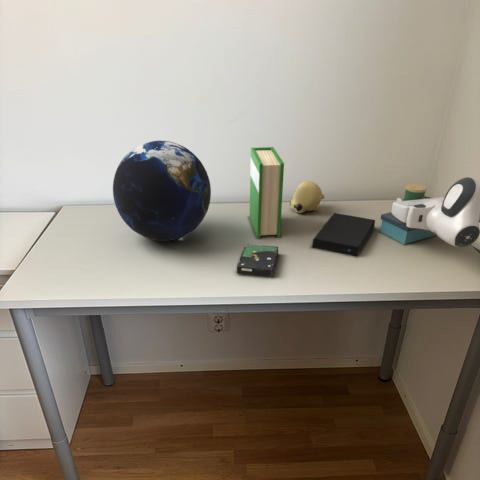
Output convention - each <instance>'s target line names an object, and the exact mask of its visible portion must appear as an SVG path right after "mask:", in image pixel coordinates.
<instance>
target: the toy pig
mask: <svg viewBox="0 0 480 480" xmlns="http://www.w3.org/2000/svg"><path fill="white" fill-rule="evenodd" d="M325 197H326V196H325V194H323V192H322V188H321V187H320V186H319V184H317V183H316V182H314V181H311V180H304V181H302V182H301V183H299V185H298V186H297V187H296V190H295V191H294V193H293V197H292V199H291V200H290V202H289V206H290V208H291V209H292V210H293V211H294V212H295V213H298V214H303V213H305V212H311V211H315V212H317V211H319V205H320V203H321V202H322V200H324V199H325Z"/></svg>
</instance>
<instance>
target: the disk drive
mask: <svg viewBox="0 0 480 480" xmlns="http://www.w3.org/2000/svg"><path fill="white" fill-rule="evenodd" d="M278 256H279V246H275V245H262V244H261V245H256V244H255V245H253V244H246V245H244V247H243V249H242V253H241V254H240V257H239V260H238V261H237V264H236V274H239V275H247V276H258V277H273V274H274V270H275V267H276V264H277V259H278Z"/></svg>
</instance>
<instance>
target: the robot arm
mask: <svg viewBox="0 0 480 480" xmlns="http://www.w3.org/2000/svg"><path fill="white" fill-rule="evenodd" d="M390 212H392V214H393V215H394V216H395V217H396V218H397V219H399V220H400V221H402V222H404V223H406V226H407V227H409V228H418V229H425V230H430V231H432V232H433V233H434V234H436V235H437V237H438V238H440V239H441V240H442V241H443V242H445V243H447V244H449V245H451V246H453V247H457V248H466V247H468V246H470V245H472V244H473V243H475V242H476V241H477V240H478V239H479V237H480V225H479V223H480V180H477V179H475V178H472V177H468V176H467V177H463V178H460V179H458V180H456V181H455V182H454V183H453V184H452V185H451V186H450V187H449V189H448V190H447V191H446V194H445V195H444V196H441V197H440V196H439V197H436V196H431V195H429V194H425V196H424V199H418V200H407V201H404V197H397V198H396V201H394V202H393V203H392V205H391V210H390Z"/></svg>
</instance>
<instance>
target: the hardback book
mask: <svg viewBox="0 0 480 480" xmlns="http://www.w3.org/2000/svg"><path fill="white" fill-rule="evenodd" d="M284 170H285V162H284V161H283V159H282V158H281V157H280V155H279V153H278V152H277V151H276V149H275V148H274V146H263V147H261V146H260V147H258V146H257V147H250V171H249V172H250V173H249V220H250V222H251V224H252V228H253V230H254V233H255V236H256V238H257V239H261V236H276V238H281V228H282V227H281V226H282V223H281V222H282V209H283V192H284V191H283V190H284V174H285V172H284Z"/></svg>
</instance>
